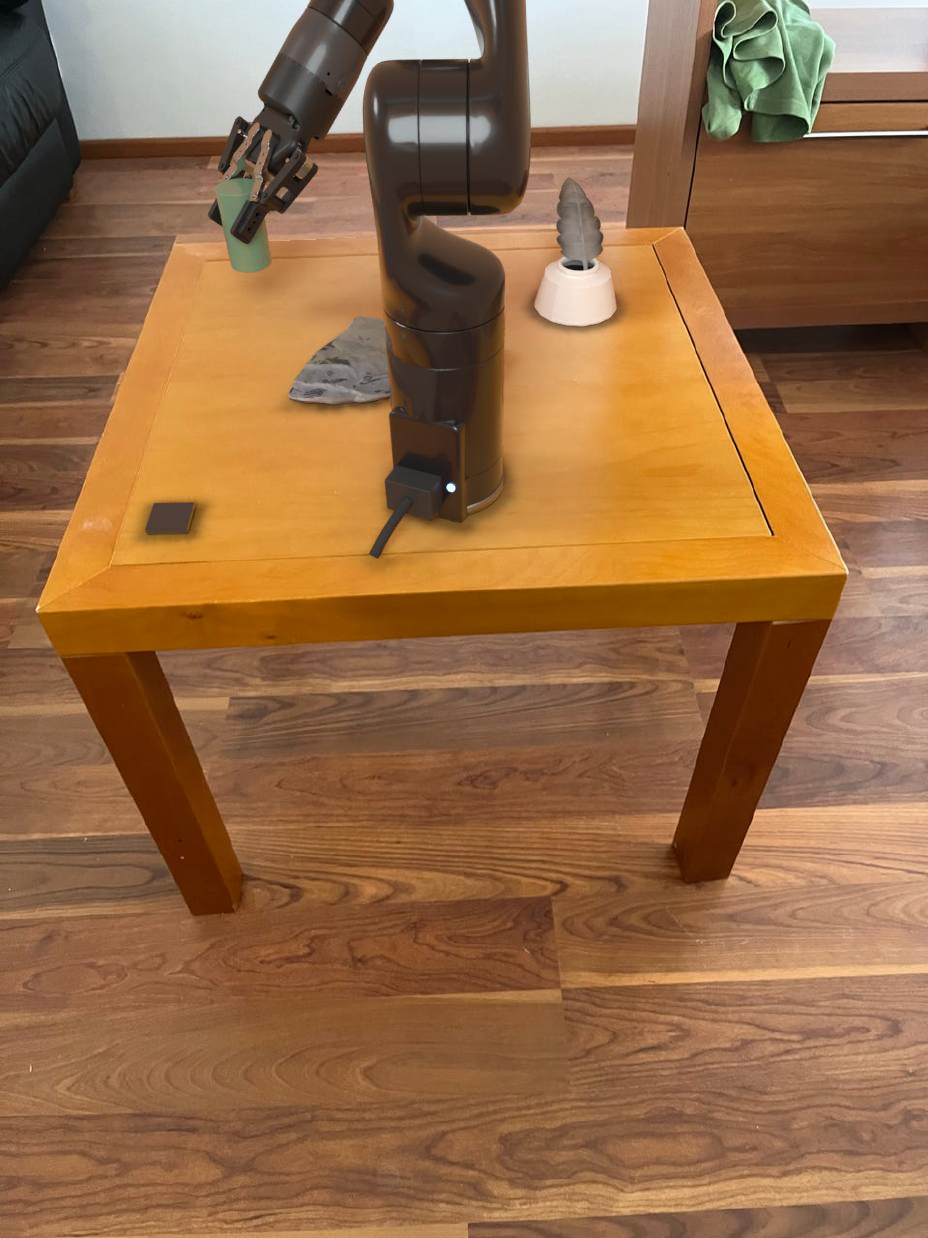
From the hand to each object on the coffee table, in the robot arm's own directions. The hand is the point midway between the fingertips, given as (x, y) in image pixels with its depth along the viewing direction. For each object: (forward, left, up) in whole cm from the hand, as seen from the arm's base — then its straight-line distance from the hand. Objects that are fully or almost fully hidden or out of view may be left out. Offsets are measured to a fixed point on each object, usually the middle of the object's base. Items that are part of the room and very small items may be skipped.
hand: (227, 229), depth 96 cm
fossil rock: (-4, -21, -10) cm, 24 cm away
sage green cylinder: (+2, -1, -4) cm, 5 cm away
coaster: (-32, -13, -10) cm, 36 cm away
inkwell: (+20, -31, -10) cm, 38 cm away
